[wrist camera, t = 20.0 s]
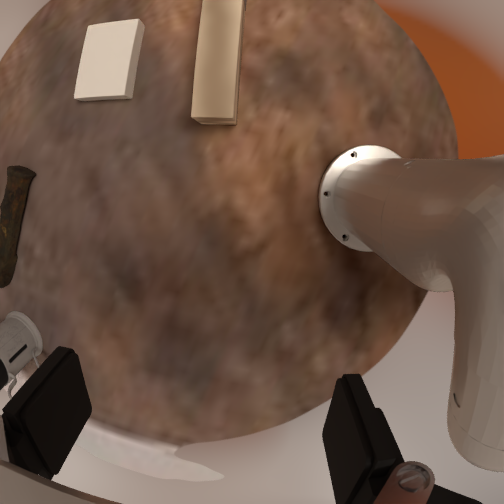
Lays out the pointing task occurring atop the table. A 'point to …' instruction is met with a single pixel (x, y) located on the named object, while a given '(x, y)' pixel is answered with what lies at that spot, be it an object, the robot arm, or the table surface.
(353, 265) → the table surface
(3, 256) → the hand tool
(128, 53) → the white and teal block
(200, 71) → the grey-capped beige stick
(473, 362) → the robot arm
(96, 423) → the table surface
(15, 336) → the glass holder
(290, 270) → the table surface
